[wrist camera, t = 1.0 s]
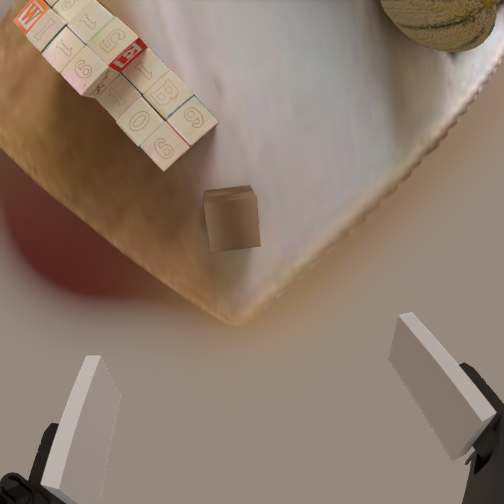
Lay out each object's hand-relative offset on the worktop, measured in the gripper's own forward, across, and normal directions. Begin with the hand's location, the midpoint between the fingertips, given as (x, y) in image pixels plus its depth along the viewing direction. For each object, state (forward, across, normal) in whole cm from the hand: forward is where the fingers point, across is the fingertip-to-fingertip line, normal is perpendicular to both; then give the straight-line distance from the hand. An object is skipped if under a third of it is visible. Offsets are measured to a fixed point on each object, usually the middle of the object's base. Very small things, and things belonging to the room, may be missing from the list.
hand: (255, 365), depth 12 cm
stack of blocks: (+25, -9, +17) cm, 31 cm away
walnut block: (+25, 0, 0) cm, 25 cm away
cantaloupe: (+25, +25, +26) cm, 44 cm away
